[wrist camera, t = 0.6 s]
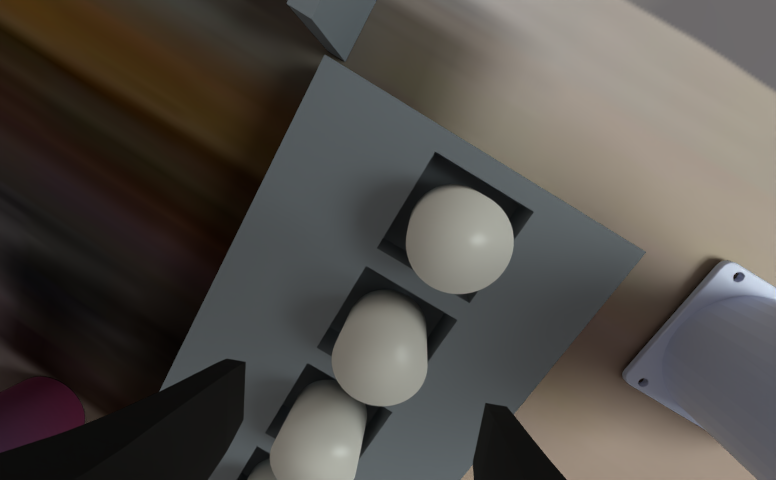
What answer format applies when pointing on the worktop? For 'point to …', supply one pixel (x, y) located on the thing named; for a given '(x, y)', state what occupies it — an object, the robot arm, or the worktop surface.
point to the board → (391, 281)
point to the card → (334, 21)
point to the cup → (37, 411)
